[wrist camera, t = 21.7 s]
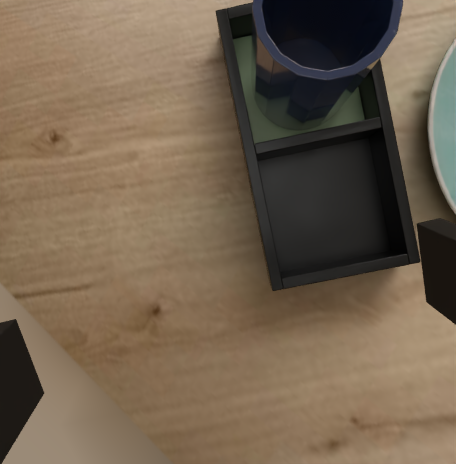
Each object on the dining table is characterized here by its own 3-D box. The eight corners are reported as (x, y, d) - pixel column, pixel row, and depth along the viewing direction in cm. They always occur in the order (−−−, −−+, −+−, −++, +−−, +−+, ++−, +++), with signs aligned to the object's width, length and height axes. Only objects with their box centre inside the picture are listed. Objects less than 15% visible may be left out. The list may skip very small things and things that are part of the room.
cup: (262, 139, 34) (269, 93, 22) (243, 47, 34) (240, -51, 22) (355, 119, 33) (415, 61, 21) (336, 26, 33) (386, -86, 21)
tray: (269, 283, 35) (272, 291, 31) (219, 35, 34) (215, 10, 30) (400, 257, 34) (421, 262, 30) (350, 5, 34) (363, -24, 30)
